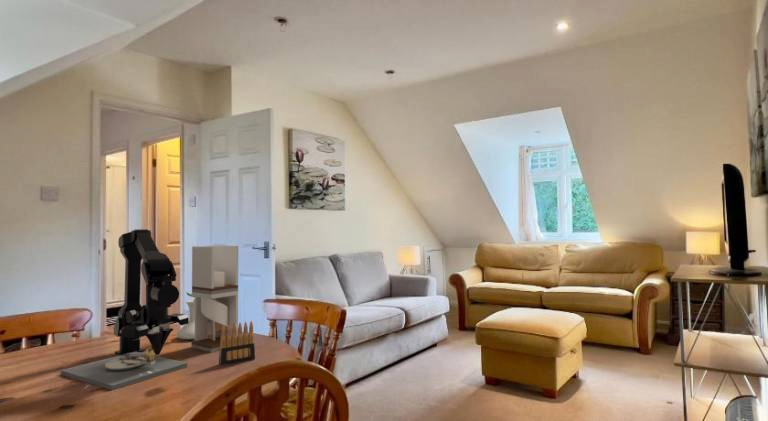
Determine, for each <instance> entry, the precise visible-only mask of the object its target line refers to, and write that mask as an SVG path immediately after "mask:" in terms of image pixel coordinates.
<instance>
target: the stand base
mask: <svg viewBox="0 0 768 421" xmlns="http://www.w3.org/2000/svg"><path fill="white" fill-rule="evenodd" d="M128 354H131V355H132V356H138V357H144V358H145V360H146V353H144V352H132V353H128ZM124 355H125V354H124ZM119 356H121V354H119V355H116V356H113V357H108V358H104V359H100V360H96V361H93V362H92V361H91V362H88V363H83V364H81V365H80V364H79V365H77V366H72V367H68V368H64V369H60V375H61V376H64V377H67V378H70V379H74V380H78V381H81V382H84V383H87V384H90V385H92V386H93V385H94V386H97V387H100V388H104V389H107V390H110V391H115V390H118V389H121V388H124V387H127V386H131V385H133V384H137V383H141V382H143V381H147V380H150V379H154V378H156V377H161V376H163V375H166V374H169V373H173V372H176V371H179V370H182V369H185V368H188V362H184V361H181V360H176V359H171V358H167V357H163V356H158V355H154V360H155V364H152V365H147V364H144V365H142V366H140V367H137V368H134V369H129V370H122V371H109V370H106V369H105V364H106V363H107V362H108V361H110V360H114V359H117V358H119ZM153 377H154V378H153Z"/></svg>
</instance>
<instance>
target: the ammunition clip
mask: <svg viewBox="0 0 768 421" xmlns="http://www.w3.org/2000/svg"><path fill="white" fill-rule="evenodd" d="M248 329H249V330H248ZM255 348H256V347H255V333H254V324H253V321H252V320H251V321H250V323H249V328H248V323H247V321H245V322H244V325H243V327H242V323H241V322H238V336H237V332H236V325H235V323H234V325H233V330H232V338H231V328H230V325H229V324H228V327H227V336H226V337H225V327H224V325H222V328H221V338H220V350H219V353H218V354H219V356H218V357H219V358H218V360H219V361H218V365H219V366H227V365H232V364H237V363H243V362H248V361H253V360H256V353H255V352H256V351H255V350H256V349H255Z"/></svg>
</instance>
